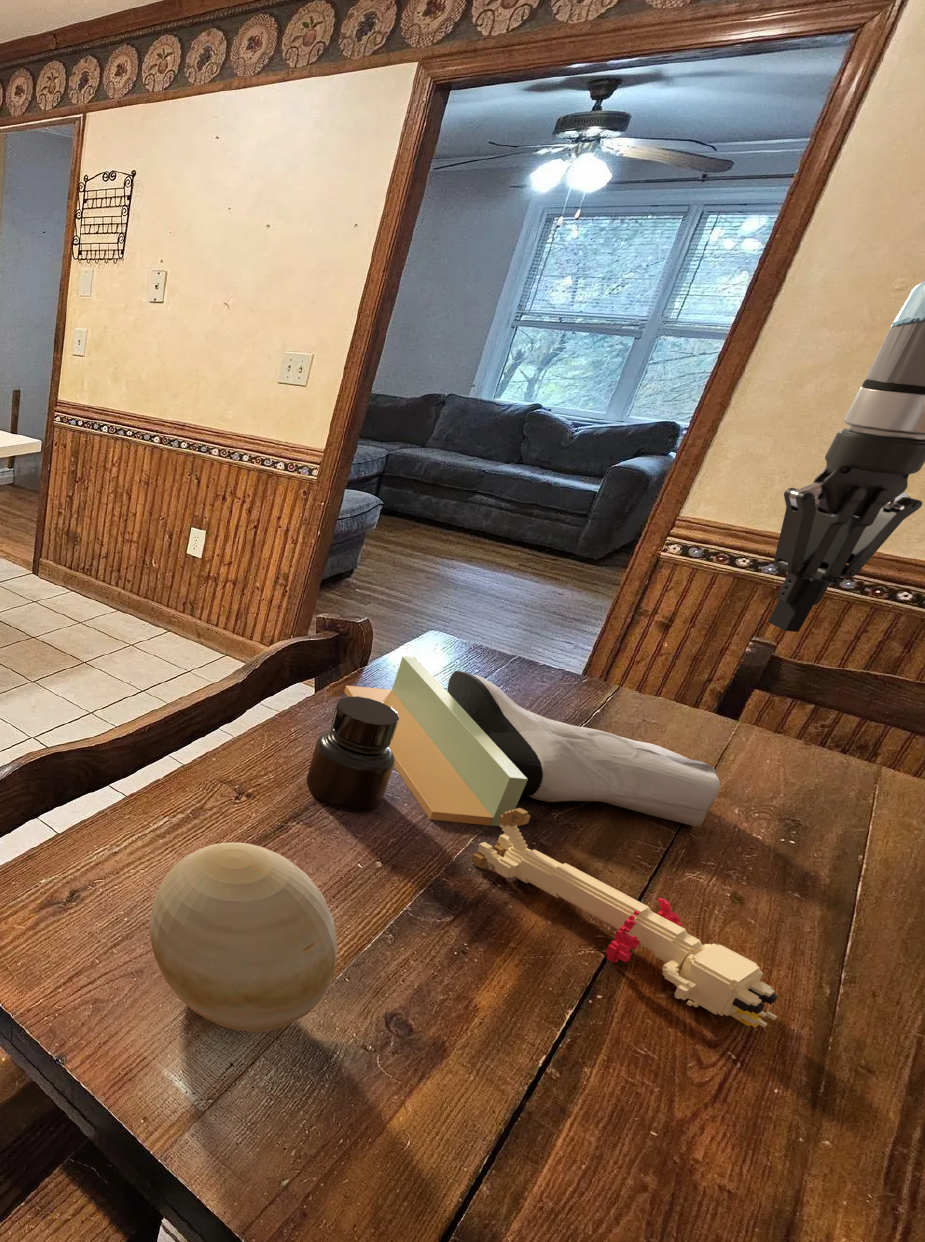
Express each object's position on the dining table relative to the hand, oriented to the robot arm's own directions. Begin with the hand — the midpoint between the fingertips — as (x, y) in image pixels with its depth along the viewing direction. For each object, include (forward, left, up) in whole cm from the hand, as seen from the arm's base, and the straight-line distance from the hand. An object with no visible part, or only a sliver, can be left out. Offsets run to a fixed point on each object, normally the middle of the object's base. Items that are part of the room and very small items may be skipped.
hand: (782, 626), depth 97 cm
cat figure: (+32, +33, -23) cm, 51 cm away
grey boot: (+18, 0, -23) cm, 29 cm away
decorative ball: (+72, +46, -23) cm, 88 cm away
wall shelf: (+38, 0, -22) cm, 44 cm away
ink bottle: (+51, +12, -23) cm, 57 cm away
